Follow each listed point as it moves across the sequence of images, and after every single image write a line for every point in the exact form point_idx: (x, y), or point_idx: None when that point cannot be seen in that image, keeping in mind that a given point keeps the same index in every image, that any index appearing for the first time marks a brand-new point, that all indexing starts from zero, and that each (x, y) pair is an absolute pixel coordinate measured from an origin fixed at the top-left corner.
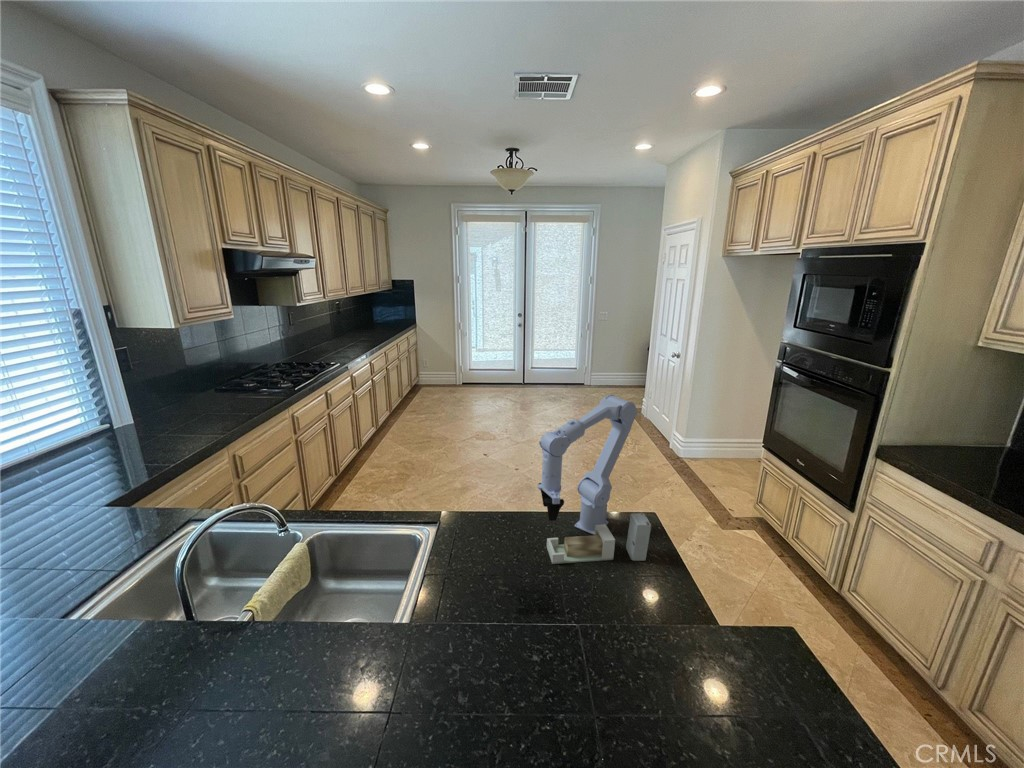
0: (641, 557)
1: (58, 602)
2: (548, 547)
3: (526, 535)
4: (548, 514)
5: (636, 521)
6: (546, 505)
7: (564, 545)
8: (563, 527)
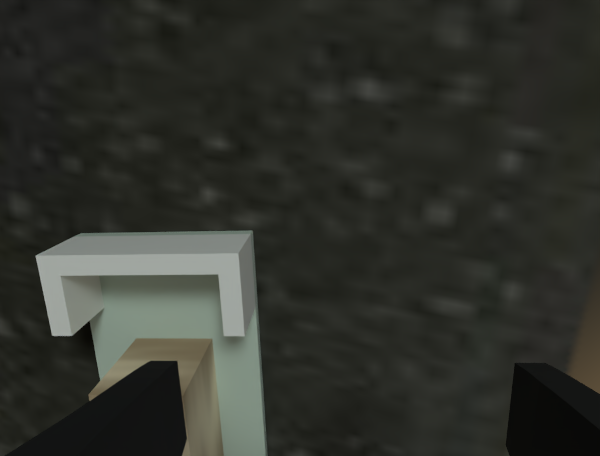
0: None
1: None
2: (190, 241)
3: (405, 99)
4: (71, 414)
5: None
6: (517, 407)
7: (195, 355)
8: (464, 388)
